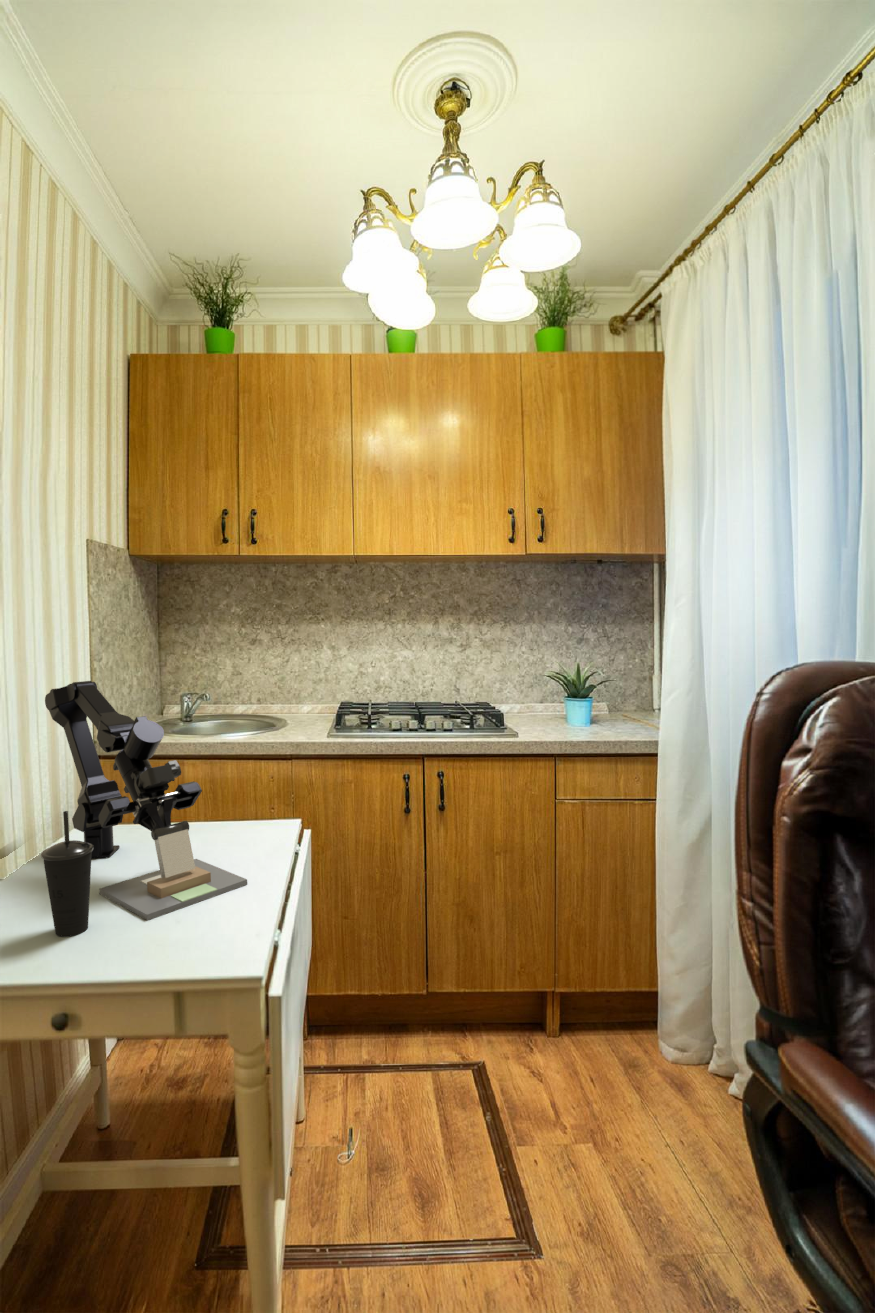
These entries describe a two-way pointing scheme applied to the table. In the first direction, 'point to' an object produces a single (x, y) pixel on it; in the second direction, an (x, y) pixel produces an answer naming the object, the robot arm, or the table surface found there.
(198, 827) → the table surface
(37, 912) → the table surface
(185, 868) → the bench scraper
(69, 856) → the drinking cup
